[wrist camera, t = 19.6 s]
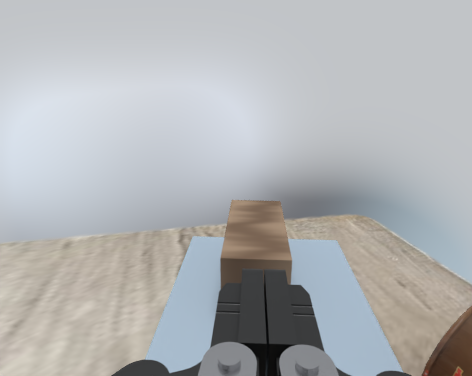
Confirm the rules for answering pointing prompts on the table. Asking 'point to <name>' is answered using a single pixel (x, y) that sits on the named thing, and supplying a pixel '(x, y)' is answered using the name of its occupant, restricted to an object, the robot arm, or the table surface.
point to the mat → (303, 273)
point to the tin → (453, 350)
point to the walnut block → (254, 240)
